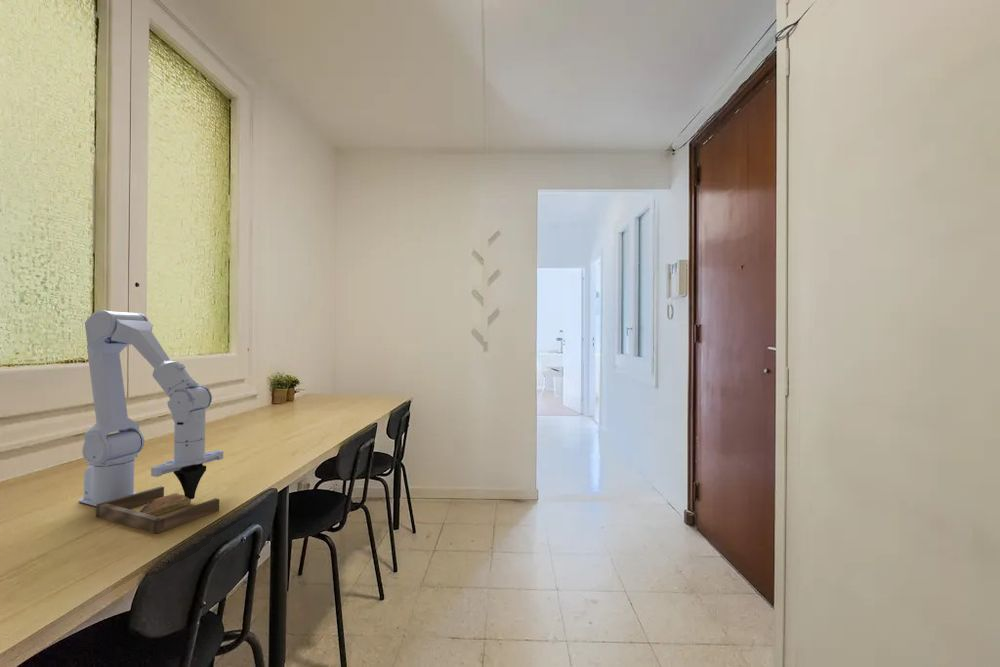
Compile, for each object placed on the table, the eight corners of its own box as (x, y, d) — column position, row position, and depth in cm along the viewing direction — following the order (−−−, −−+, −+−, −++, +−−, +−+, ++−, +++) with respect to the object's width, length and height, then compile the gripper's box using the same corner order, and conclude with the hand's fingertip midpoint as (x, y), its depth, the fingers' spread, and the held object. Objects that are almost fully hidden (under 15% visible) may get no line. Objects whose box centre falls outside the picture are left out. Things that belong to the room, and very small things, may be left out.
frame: (96, 516, 88) (96, 504, 88) (160, 496, 100) (160, 486, 100) (156, 533, 81) (157, 520, 81) (219, 510, 92) (219, 499, 92)
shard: (134, 523, 85) (134, 514, 85) (115, 516, 89) (115, 508, 89) (192, 505, 95) (192, 497, 95) (173, 499, 98) (173, 491, 98)
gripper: (166, 449, 88) (165, 513, 88) (232, 434, 101) (231, 490, 101) (145, 445, 90) (144, 508, 90) (212, 431, 104) (211, 486, 104)
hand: (189, 498), depth 96 cm, fingers closed, pressing on shard
